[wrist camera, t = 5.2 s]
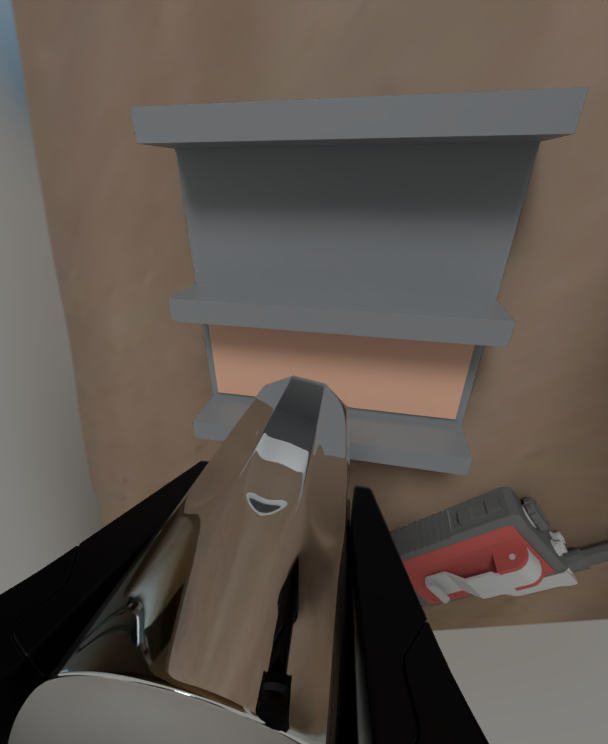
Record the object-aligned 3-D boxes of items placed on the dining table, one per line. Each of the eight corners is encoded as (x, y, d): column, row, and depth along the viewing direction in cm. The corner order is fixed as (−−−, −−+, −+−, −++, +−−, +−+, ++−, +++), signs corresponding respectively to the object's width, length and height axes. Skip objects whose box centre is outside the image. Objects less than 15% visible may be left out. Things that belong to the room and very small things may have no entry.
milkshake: (313, 500, 13) (194, 1107, 5) (208, 406, 12) (-235, 999, 3) (416, 447, 11) (552, 1362, 3) (302, 326, 10) (-216, 1342, 1)
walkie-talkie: (425, 593, 32) (695, 517, 22) (431, 649, 28) (758, 587, 18) (363, 536, 30) (629, 427, 20) (359, 588, 26) (685, 485, 17)
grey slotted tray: (542, 102, 14) (592, 78, 11) (454, 432, 22) (466, 478, 19) (180, 115, 17) (128, 100, 14) (221, 404, 25) (195, 439, 22)
